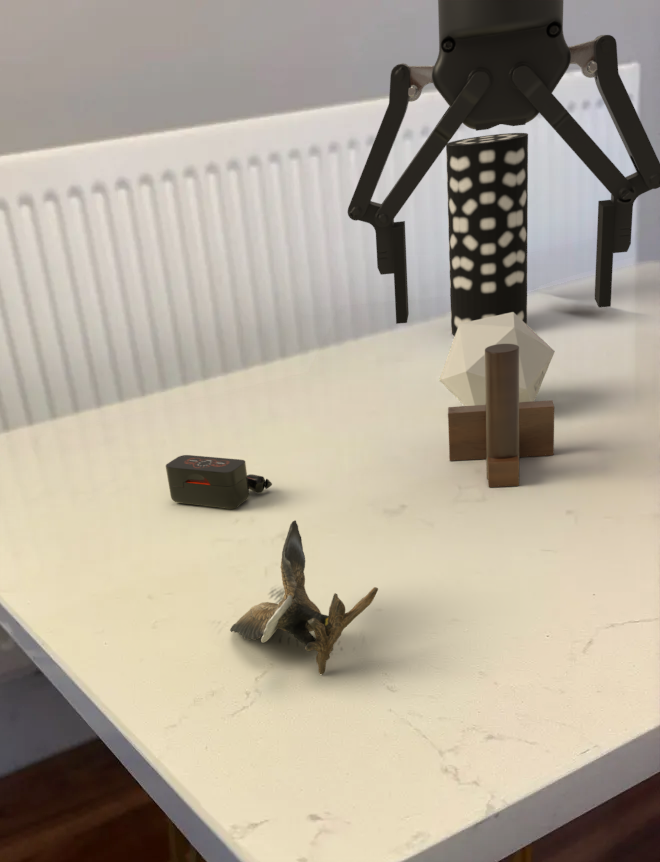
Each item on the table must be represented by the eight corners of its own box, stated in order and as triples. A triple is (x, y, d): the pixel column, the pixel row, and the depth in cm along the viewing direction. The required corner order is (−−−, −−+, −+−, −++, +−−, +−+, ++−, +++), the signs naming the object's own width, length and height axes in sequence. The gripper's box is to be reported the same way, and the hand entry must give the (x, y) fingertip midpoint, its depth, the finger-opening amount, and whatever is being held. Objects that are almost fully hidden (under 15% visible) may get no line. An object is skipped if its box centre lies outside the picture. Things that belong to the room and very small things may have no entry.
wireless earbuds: (243, 513, 79) (238, 474, 78) (168, 504, 83) (162, 466, 81) (273, 490, 82) (269, 452, 81) (199, 483, 86) (194, 446, 85)
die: (547, 432, 87) (583, 320, 87) (455, 396, 85) (492, 282, 85) (499, 440, 96) (531, 338, 96) (414, 408, 94) (447, 303, 94)
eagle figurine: (408, 625, 58) (323, 549, 65) (354, 559, 53) (267, 484, 60) (312, 718, 59) (236, 633, 65) (249, 661, 54) (174, 575, 60)
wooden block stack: (559, 484, 76) (562, 350, 71) (448, 489, 78) (444, 359, 73) (552, 448, 82) (554, 323, 78) (449, 454, 84) (445, 332, 80)
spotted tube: (525, 317, 119) (526, 130, 110) (528, 335, 112) (529, 137, 103) (452, 323, 122) (447, 140, 112) (450, 341, 115) (445, 148, 105)
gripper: (290, -9, 63) (318, 338, 72) (736, -81, 57) (702, 308, 66) (306, -4, 69) (329, 313, 79) (708, -69, 63) (681, 283, 73)
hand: (500, 311), depth 73 cm, fingers open, 13 cm apart
